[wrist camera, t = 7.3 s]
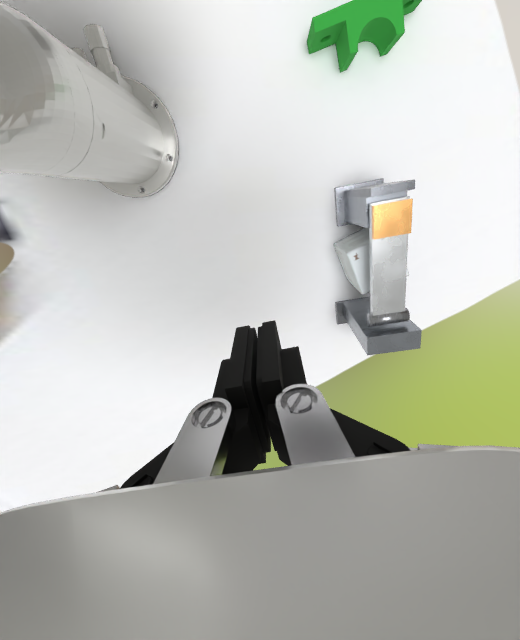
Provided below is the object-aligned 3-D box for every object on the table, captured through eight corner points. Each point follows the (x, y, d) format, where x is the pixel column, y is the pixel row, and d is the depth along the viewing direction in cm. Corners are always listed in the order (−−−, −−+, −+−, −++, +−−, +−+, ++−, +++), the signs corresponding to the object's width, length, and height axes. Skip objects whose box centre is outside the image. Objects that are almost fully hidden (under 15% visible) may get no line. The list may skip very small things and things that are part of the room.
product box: (346, 280, 41) (361, 296, 34) (332, 242, 38) (345, 252, 32) (386, 262, 39) (410, 275, 33) (374, 222, 37) (397, 228, 30)
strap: (363, 204, 28) (369, 204, 26) (408, 195, 27) (417, 195, 26) (366, 323, 33) (371, 329, 32) (403, 317, 33) (410, 324, 31)
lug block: (334, 188, 35) (360, 184, 25) (381, 178, 35) (426, 171, 25) (337, 225, 37) (361, 236, 27) (381, 217, 37) (423, 225, 27)
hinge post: (335, 302, 42) (358, 338, 31) (388, 293, 41) (430, 328, 30) (336, 322, 43) (359, 364, 33) (387, 315, 43) (428, 355, 32)
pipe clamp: (313, 83, 31) (320, 66, 27) (306, 42, 30) (311, 17, 26) (414, 43, 29) (438, 18, 25) (412, -3, 28) (436, -38, 24)
